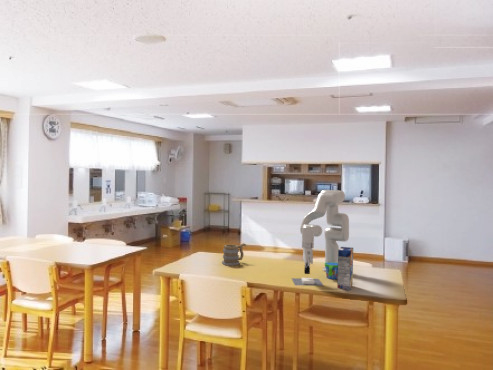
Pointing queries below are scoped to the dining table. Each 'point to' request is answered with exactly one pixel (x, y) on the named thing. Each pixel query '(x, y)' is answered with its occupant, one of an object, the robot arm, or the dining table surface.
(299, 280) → the mat
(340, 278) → the juice carton
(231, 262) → the tankard
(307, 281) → the tile
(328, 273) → the snack cup
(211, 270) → the dining table surface
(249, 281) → the dining table surface
